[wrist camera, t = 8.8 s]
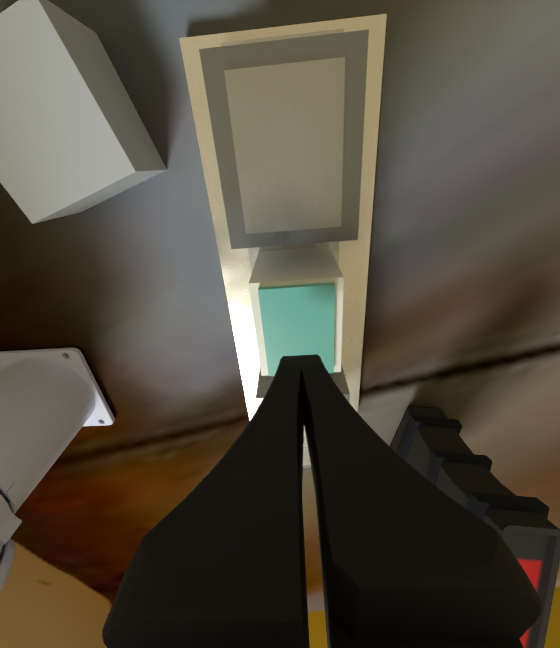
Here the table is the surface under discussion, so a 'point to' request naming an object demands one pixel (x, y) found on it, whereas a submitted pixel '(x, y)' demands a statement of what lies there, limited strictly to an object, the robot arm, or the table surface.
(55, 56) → the block
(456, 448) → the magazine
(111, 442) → the table surface
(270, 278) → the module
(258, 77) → the rail panel
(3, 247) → the table surface
